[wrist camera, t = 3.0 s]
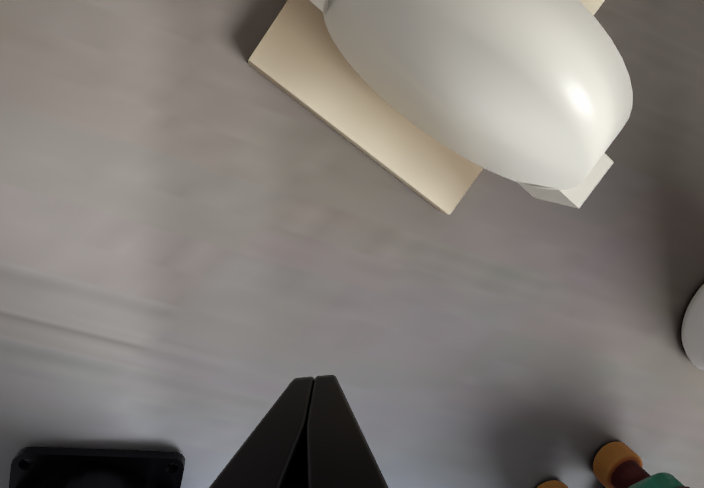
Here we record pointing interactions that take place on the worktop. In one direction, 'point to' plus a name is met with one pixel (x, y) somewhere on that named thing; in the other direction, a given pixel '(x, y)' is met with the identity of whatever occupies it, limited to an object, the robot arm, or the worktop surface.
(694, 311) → the bath foam
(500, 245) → the worktop surface
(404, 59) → the white oval slab
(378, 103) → the birch board
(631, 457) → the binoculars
